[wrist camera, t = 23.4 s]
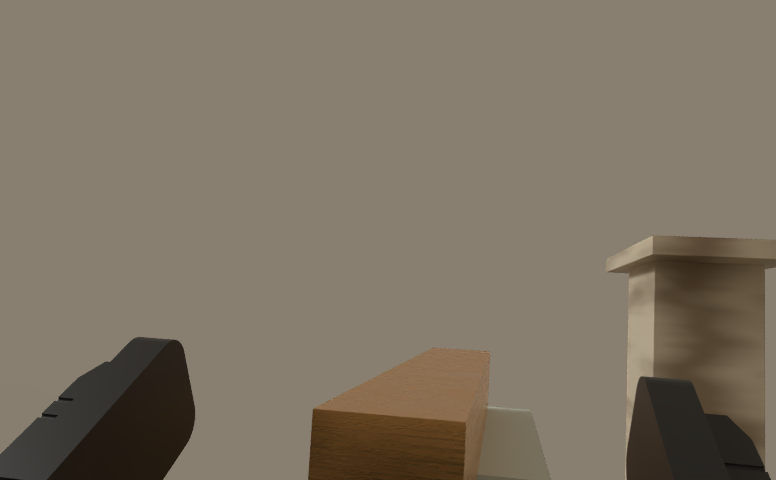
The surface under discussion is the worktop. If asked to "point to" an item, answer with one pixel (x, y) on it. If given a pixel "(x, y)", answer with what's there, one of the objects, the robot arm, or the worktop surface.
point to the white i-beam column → (511, 447)
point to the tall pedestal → (700, 322)
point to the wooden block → (406, 422)
